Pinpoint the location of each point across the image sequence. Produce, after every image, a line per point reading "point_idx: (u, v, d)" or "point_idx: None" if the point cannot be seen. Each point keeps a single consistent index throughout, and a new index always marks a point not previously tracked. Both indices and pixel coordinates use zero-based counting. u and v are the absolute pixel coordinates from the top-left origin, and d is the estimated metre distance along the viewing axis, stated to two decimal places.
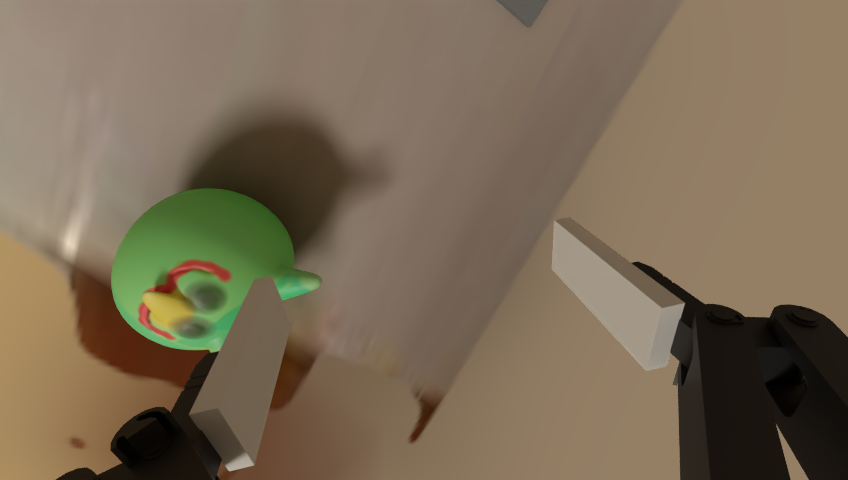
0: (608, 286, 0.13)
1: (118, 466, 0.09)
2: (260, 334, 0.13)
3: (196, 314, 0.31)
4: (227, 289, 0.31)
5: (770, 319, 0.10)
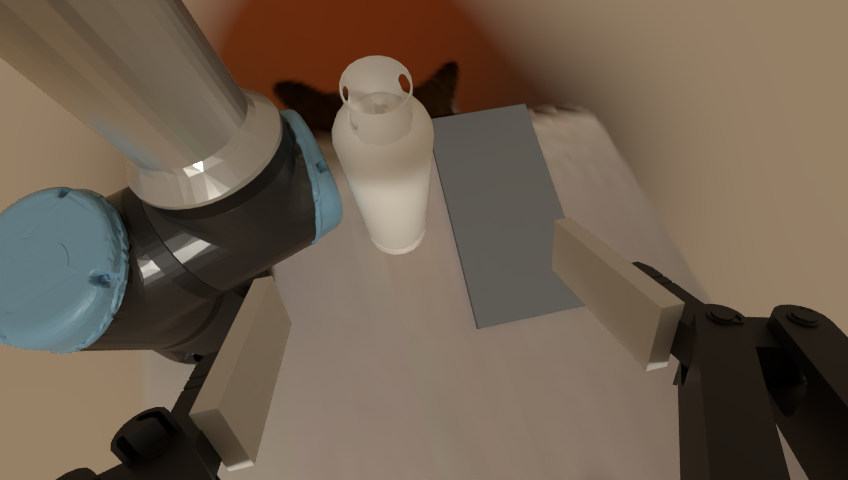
0: (608, 286, 0.13)
1: (118, 466, 0.09)
2: (260, 334, 0.13)
3: None
4: None
5: (770, 319, 0.10)
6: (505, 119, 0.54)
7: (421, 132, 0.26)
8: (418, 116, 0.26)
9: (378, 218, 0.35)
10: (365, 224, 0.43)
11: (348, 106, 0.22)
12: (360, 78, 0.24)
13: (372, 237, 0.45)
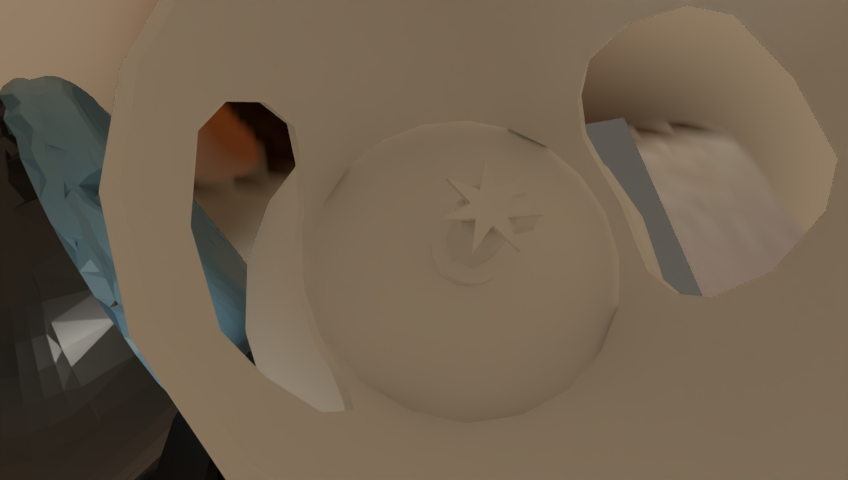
0: None
1: None
2: None
3: None
4: None
5: None
6: (595, 143, 0.33)
7: None
8: None
9: None
10: None
11: (198, 405, 0.02)
12: (366, 50, 0.04)
13: None
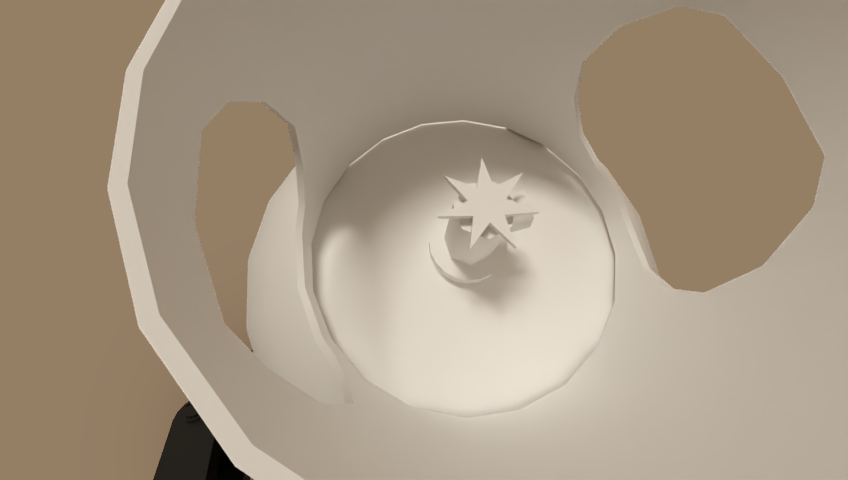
0: None
1: None
2: None
3: None
4: None
5: None
6: None
7: None
8: None
9: None
10: None
11: (204, 393, 0.02)
12: (365, 50, 0.04)
13: None
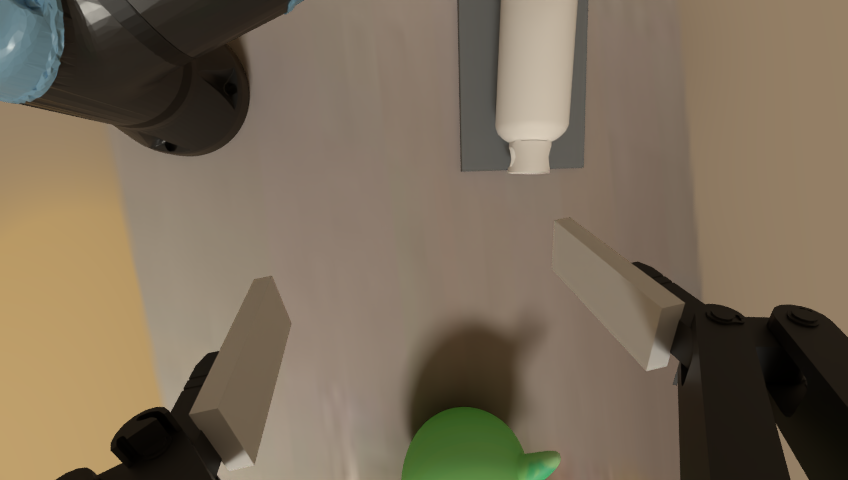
0: (608, 286, 0.13)
1: (118, 466, 0.09)
2: (260, 334, 0.13)
3: None
4: None
5: (770, 319, 0.10)
6: None
7: None
8: None
9: None
10: None
11: (508, 172, 0.42)
12: None
13: None
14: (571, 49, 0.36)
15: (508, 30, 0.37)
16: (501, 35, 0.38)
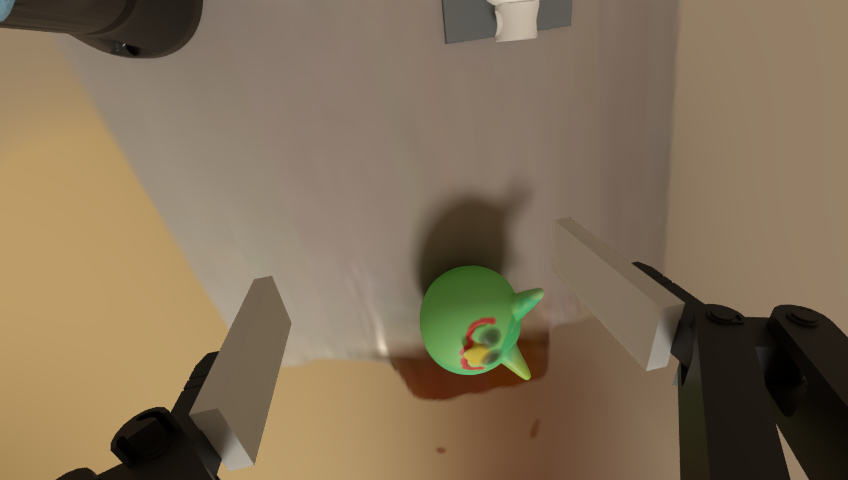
0: (608, 286, 0.13)
1: (118, 466, 0.09)
2: (260, 334, 0.13)
3: (490, 349, 0.49)
4: (497, 327, 0.48)
5: (770, 319, 0.10)
6: None
7: None
8: None
9: None
10: None
11: (495, 40, 0.41)
12: None
13: None
14: None
15: None
16: None
